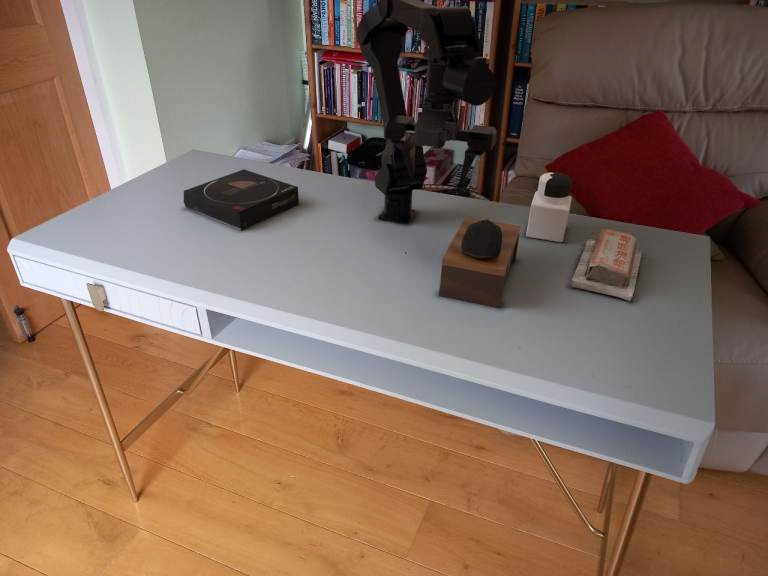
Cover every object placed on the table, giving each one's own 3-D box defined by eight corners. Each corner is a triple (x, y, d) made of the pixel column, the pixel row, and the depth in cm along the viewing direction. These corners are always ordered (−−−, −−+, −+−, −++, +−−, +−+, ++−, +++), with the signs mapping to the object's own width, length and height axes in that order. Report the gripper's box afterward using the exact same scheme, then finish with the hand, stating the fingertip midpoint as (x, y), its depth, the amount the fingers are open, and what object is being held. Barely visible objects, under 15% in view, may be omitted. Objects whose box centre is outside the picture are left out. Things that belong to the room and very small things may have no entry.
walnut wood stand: (461, 250, 111) (465, 216, 107) (515, 260, 108) (521, 225, 104) (438, 295, 97) (442, 258, 93) (499, 308, 94) (505, 270, 91)
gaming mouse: (506, 225, 104) (509, 204, 102) (497, 264, 92) (501, 241, 90) (470, 220, 106) (473, 199, 104) (457, 258, 93) (460, 235, 91)
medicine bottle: (565, 228, 120) (577, 172, 114) (562, 243, 115) (574, 185, 108) (530, 222, 122) (539, 167, 116) (525, 237, 116) (535, 179, 110)
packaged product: (591, 222, 112) (647, 233, 108) (586, 245, 114) (640, 257, 111) (575, 263, 98) (638, 277, 94) (569, 288, 100) (631, 303, 97)
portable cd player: (243, 185, 135) (241, 168, 133) (298, 204, 127) (297, 187, 125) (184, 207, 124) (181, 189, 121) (241, 230, 115) (239, 211, 113)
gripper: (373, 95, 93) (371, 188, 102) (490, 109, 88) (478, 205, 97) (395, 81, 102) (392, 167, 111) (502, 92, 97) (491, 182, 106)
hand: (436, 180), depth 106 cm, fingers open, 9 cm apart
